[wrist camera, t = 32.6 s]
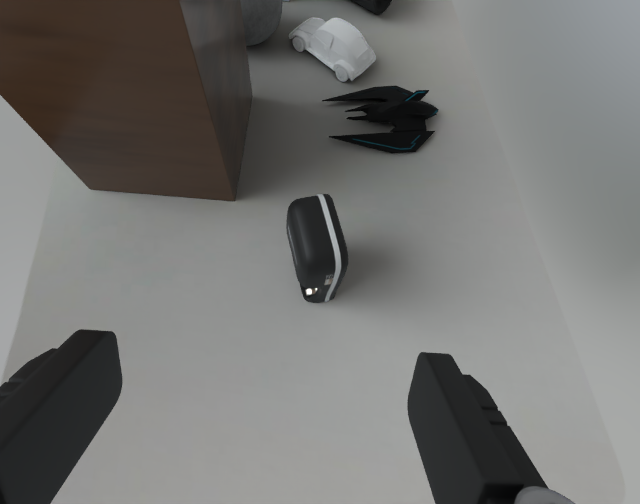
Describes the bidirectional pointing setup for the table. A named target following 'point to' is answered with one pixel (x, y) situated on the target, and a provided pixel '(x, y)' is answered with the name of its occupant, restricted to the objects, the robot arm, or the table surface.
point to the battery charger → (317, 246)
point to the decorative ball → (260, 19)
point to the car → (334, 45)
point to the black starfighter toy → (391, 118)
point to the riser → (133, 90)
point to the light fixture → (374, 5)
